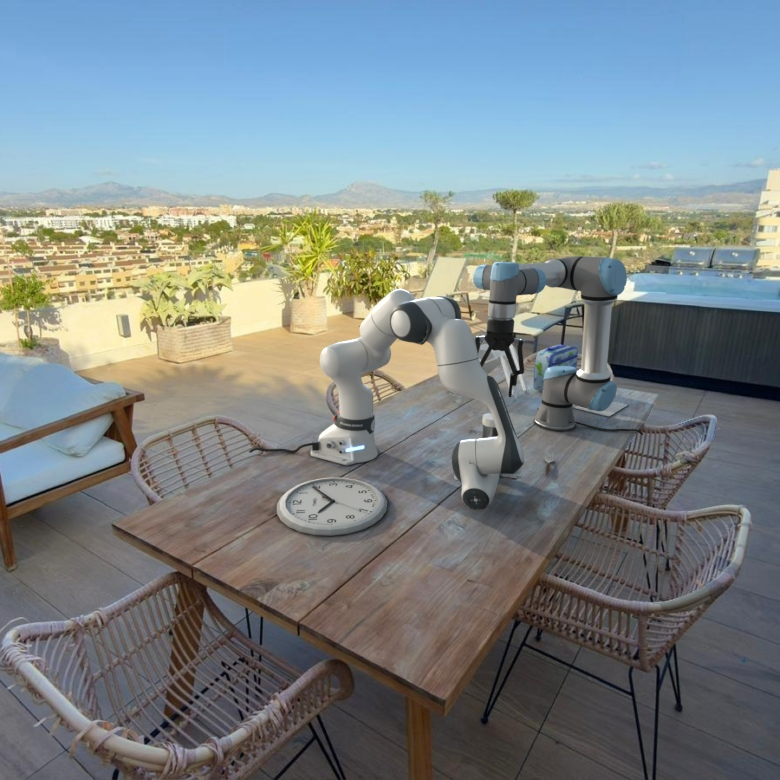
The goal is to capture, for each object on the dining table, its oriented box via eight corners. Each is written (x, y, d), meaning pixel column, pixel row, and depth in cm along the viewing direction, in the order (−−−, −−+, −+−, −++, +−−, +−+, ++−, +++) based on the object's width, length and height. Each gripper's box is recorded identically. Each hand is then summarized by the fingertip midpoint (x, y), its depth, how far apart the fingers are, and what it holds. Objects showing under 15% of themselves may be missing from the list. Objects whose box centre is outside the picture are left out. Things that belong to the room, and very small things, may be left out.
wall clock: (392, 527, 129) (268, 531, 127) (391, 533, 130) (269, 537, 127) (383, 473, 158) (282, 475, 155) (383, 478, 158) (282, 480, 156)
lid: (487, 418, 162) (487, 411, 161) (506, 423, 159) (506, 415, 158) (478, 424, 157) (479, 417, 156) (497, 429, 154) (498, 421, 153)
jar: (484, 468, 166) (488, 413, 161) (500, 473, 163) (505, 417, 158) (476, 474, 162) (480, 418, 157) (493, 479, 159) (497, 422, 154)
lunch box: (550, 397, 237) (555, 352, 231) (529, 391, 245) (533, 348, 238) (577, 386, 255) (582, 344, 249) (556, 381, 262) (561, 340, 256)
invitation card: (608, 416, 214) (573, 407, 224) (608, 416, 214) (573, 408, 224) (628, 404, 229) (594, 396, 238) (628, 405, 229) (594, 397, 238)
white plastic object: (461, 429, 252) (437, 405, 227) (444, 352, 274) (420, 323, 250) (535, 404, 240) (518, 377, 215) (510, 326, 262) (492, 293, 237)
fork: (541, 476, 161) (542, 470, 161) (545, 456, 176) (546, 450, 175) (550, 477, 161) (551, 471, 160) (553, 457, 175) (554, 451, 174)
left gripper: (522, 469, 145) (525, 450, 158) (449, 458, 151) (458, 440, 164) (520, 489, 147) (523, 469, 160) (448, 478, 153) (457, 459, 166)
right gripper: (539, 318, 149) (531, 394, 156) (466, 313, 154) (461, 387, 161) (538, 322, 142) (530, 401, 149) (462, 317, 148) (457, 394, 154)
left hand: (490, 454), depth 162 cm, fingers closed on jar, 5 cm apart
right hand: (494, 394), depth 155 cm, fingers open, 8 cm apart
